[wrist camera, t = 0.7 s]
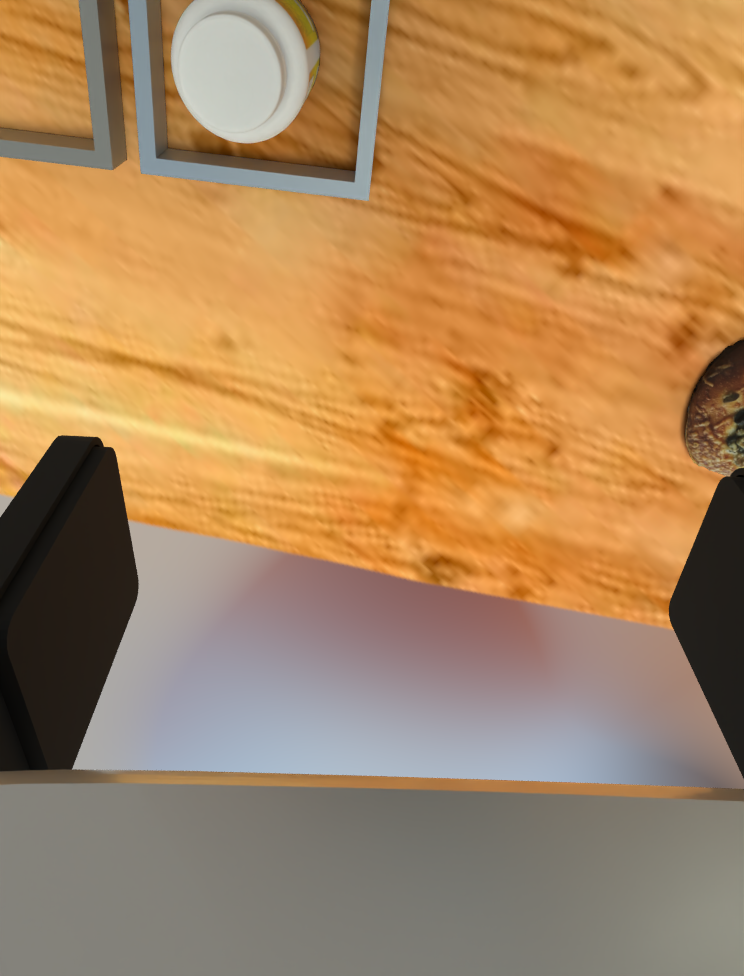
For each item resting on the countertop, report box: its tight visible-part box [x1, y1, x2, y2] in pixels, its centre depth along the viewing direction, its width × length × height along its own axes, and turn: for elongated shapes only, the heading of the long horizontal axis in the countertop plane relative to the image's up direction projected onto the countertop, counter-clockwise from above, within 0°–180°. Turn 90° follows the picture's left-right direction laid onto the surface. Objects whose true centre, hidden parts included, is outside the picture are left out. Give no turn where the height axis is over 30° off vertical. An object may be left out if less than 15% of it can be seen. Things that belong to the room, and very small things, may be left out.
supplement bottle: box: [171, 0, 320, 143], centre depth 31 cm, size 6×6×10 cm
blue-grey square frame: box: [128, 0, 390, 201], centre depth 34 cm, size 12×12×2 cm
